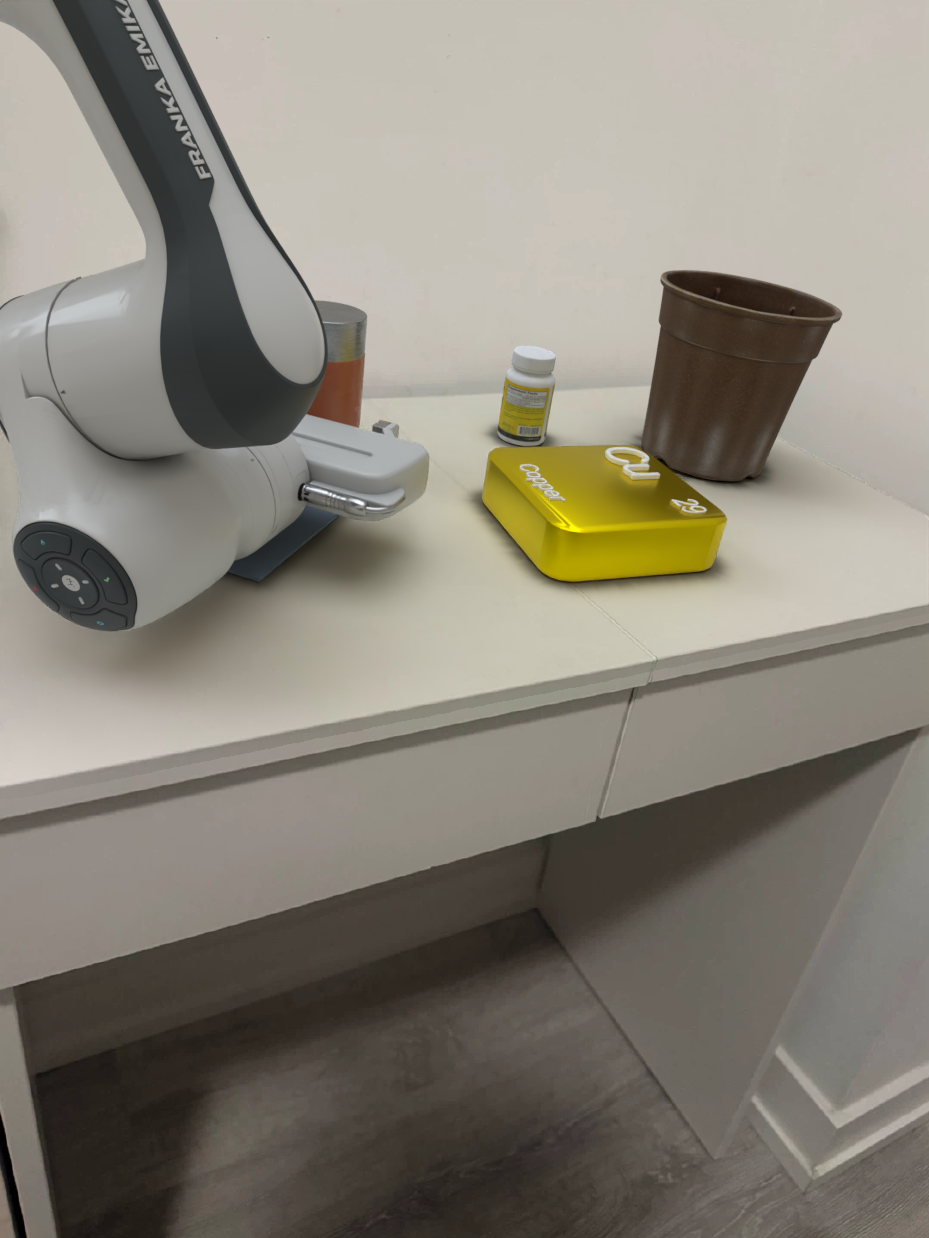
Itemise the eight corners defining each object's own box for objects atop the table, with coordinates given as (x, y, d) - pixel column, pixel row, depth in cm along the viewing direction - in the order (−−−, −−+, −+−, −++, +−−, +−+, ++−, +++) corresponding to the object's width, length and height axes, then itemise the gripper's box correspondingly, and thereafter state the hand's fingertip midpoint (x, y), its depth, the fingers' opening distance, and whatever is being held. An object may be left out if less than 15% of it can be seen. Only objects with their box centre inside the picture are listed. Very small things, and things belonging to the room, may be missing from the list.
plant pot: (756, 437, 98) (806, 283, 90) (808, 501, 84) (872, 327, 76) (609, 419, 97) (645, 260, 88) (637, 482, 83) (684, 301, 74)
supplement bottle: (513, 425, 91) (527, 341, 87) (553, 440, 89) (570, 355, 85) (486, 435, 88) (500, 349, 83) (527, 451, 86) (543, 363, 81)
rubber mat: (80, 526, 63) (79, 522, 63) (271, 418, 84) (271, 415, 84) (259, 582, 60) (259, 578, 60) (410, 456, 81) (411, 453, 81)
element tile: (473, 494, 76) (481, 440, 73) (627, 488, 81) (640, 437, 79) (549, 586, 64) (562, 525, 62) (723, 571, 70) (741, 515, 67)
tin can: (265, 454, 76) (268, 309, 70) (306, 433, 82) (312, 295, 75) (333, 475, 75) (342, 328, 68) (370, 452, 80) (382, 313, 73)
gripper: (388, 472, 55) (464, 409, 66) (103, 395, 60) (219, 348, 71) (380, 563, 58) (454, 488, 70) (110, 483, 63) (220, 425, 74)
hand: (334, 417), depth 70 cm, fingers open, 8 cm apart
